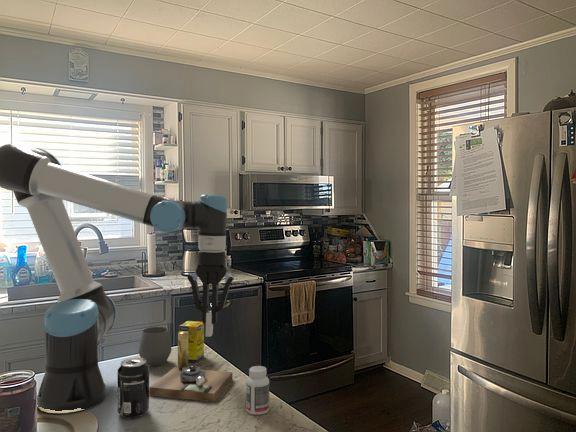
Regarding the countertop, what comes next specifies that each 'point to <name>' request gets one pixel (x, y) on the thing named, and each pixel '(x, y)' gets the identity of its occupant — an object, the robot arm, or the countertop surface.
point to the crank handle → (188, 372)
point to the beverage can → (133, 388)
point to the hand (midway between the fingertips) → (209, 335)
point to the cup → (155, 345)
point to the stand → (191, 386)
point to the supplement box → (194, 339)
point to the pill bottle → (257, 391)
